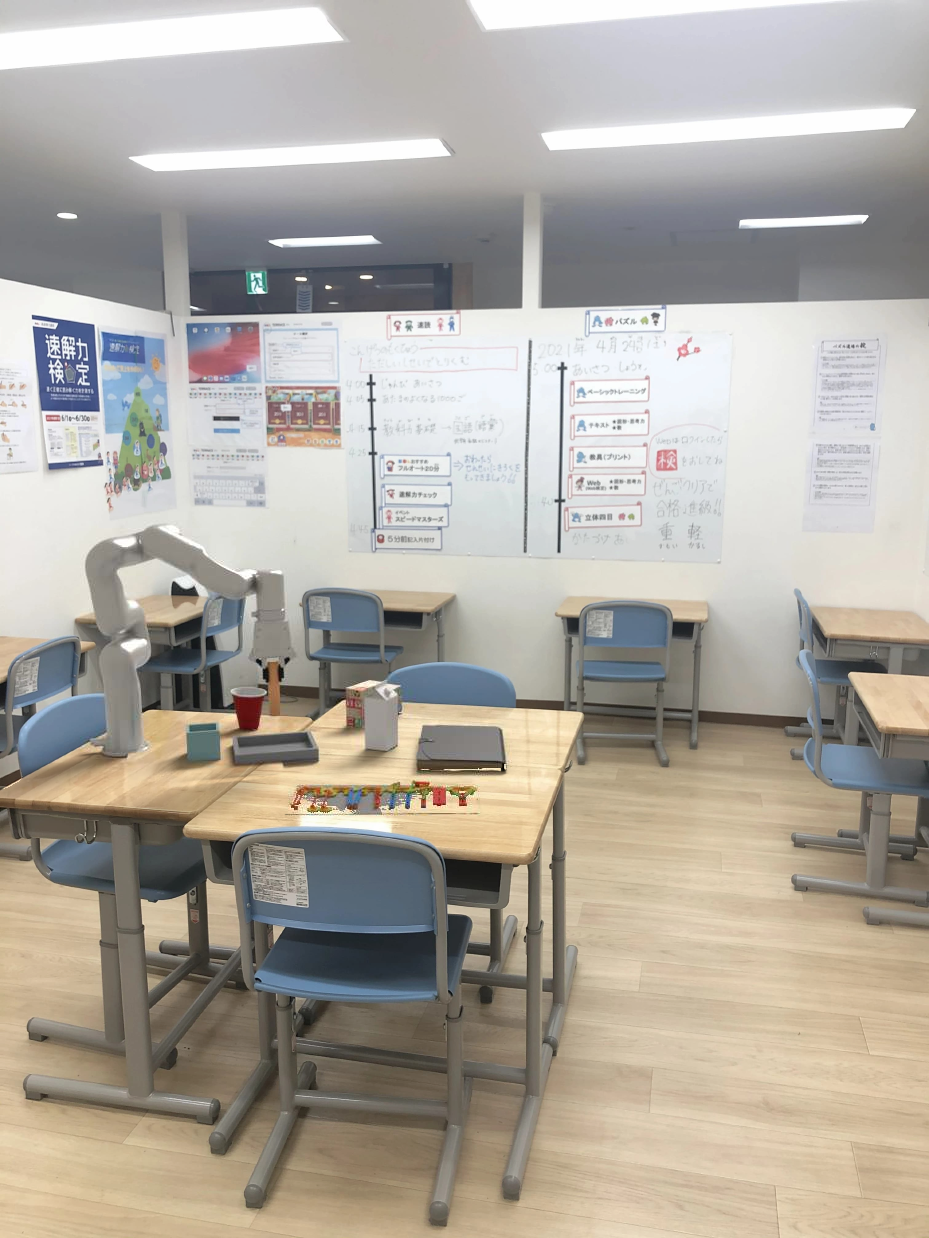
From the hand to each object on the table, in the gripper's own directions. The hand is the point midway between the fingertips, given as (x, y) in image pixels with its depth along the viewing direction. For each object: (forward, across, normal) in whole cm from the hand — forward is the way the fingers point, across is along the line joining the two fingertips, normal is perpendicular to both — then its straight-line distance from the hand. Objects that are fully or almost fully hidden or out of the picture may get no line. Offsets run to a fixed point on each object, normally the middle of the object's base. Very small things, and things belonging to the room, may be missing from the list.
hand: (273, 680), depth 253 cm
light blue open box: (+21, -19, +1) cm, 29 cm away
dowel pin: (+10, 0, 0) cm, 10 cm away
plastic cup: (+21, -5, +29) cm, 36 cm away
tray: (+21, 0, 0) cm, 21 cm away
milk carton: (+21, +30, -1) cm, 37 cm away
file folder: (+22, +50, -12) cm, 56 cm away
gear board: (+22, +22, -43) cm, 53 cm away
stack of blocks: (+22, +34, +29) cm, 49 cm away
